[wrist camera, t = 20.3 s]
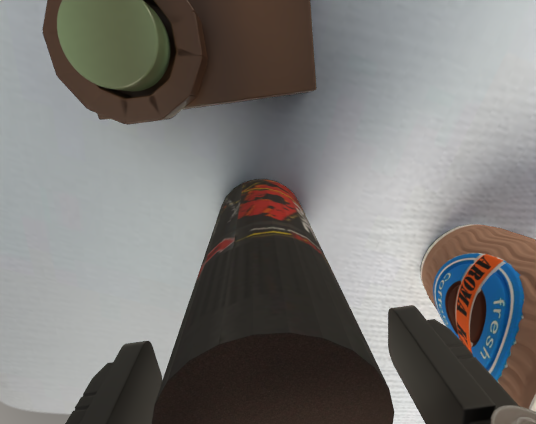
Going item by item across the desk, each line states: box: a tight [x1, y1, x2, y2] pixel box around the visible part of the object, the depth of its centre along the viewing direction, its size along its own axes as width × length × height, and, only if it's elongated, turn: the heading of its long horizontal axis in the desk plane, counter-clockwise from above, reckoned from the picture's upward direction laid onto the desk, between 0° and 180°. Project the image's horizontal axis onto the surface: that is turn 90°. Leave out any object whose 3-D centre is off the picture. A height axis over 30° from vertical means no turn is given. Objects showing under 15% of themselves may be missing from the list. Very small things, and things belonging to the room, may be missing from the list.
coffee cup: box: [421, 224, 536, 412], centre depth 18 cm, size 10×10×12 cm
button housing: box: [43, 0, 316, 124], centre depth 15 cm, size 12×10×4 cm
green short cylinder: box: [57, 0, 170, 92], centre depth 13 cm, size 4×4×2 cm
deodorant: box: [152, 179, 394, 424], centre depth 14 cm, size 6×6×15 cm
